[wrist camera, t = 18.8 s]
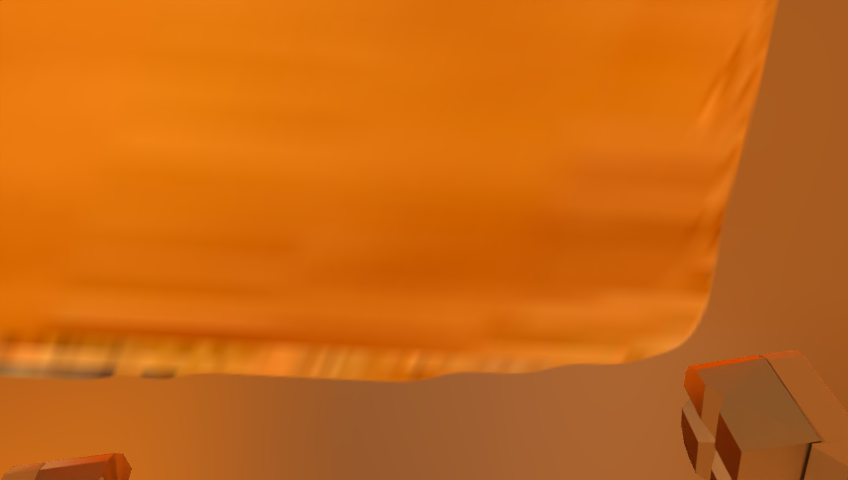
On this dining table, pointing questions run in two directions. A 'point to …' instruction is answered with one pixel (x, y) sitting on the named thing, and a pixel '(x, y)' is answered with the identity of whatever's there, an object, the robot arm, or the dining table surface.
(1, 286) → the dining table surface
